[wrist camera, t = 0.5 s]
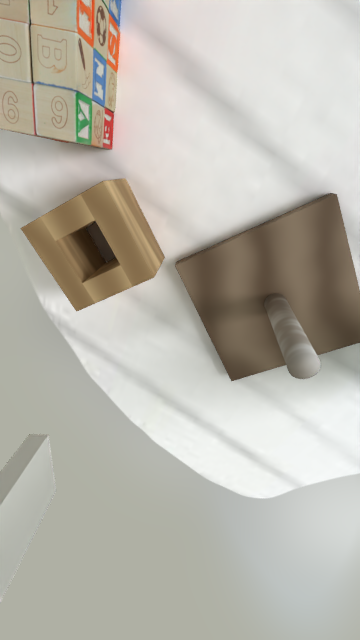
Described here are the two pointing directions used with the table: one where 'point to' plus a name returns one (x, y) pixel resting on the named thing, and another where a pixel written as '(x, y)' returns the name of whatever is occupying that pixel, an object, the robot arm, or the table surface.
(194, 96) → the table surface
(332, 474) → the table surface
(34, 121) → the stack of blocks
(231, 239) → the board
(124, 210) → the bead
